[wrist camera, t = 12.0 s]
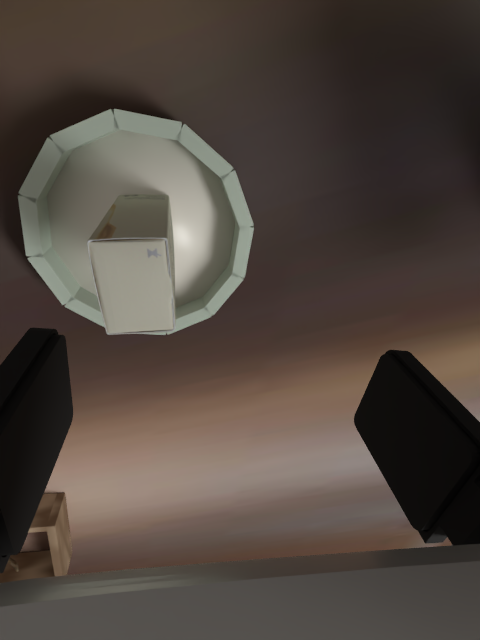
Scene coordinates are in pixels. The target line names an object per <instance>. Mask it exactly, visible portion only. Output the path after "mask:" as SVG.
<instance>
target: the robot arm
mask: <svg viewBox="0 0 480 640" xmlns="http://www.w3.org/2000/svg"><path fill="white" fill-rule="evenodd" d="M72 418H73V405H72V395H71V386H70V377H69V367H68V358H67V348H66V340H65V336H64V335H58V332H57V330H56V329H45V328H30V329H29V330H28V331H27V332H26V334H25V335H24V336H23V337H22V339H21V340H20V341H19V342H18V344H17V345H16V346H15V347H14V349H13V350H12V351H11V352H10V354H9V355H8V356H7V357H6V359H5V360H4V361H3V363H2V364H1V365H0V573H3V572H4V570H5V567H6V565H7V562H8V560H9V558H10V555H17V554H18V553H19V552H20V550H21V549H22V546H23V544H24V542H25V539H26V537H27V534H28V531H29V529H30V526H31V524H32V521H33V519H34V516H35V514H36V511H37V509H38V506H39V504H40V501H41V499H42V496H43V494H44V491H45V488H46V486H47V483H48V481H49V478H50V476H51V473H52V471H53V468H54V466H55V463H56V461H57V458H58V456H59V453H60V450H61V448H62V445H63V443H64V440H65V438H66V435H67V433H68V430H69V428H70V425H71V422H72ZM354 423H355V426H356V428H357V430H358V432H359V434H360V435H361V437H362V439H363V441H364V442H365V444H366V446H367V448H368V450H369V451H370V453H371V455H372V457H373V458H374V460H375V462H376V464H377V465H378V467H379V469H380V471H381V472H382V474H383V476H384V478H385V480H386V481H387V483H388V485H389V487H390V488H391V490H392V492H393V494H394V495H395V497H396V499H397V501H398V502H399V504H400V506H401V508H402V510H403V511H404V513H405V515H406V517H407V518H408V520H409V522H410V524H411V525H412V526H413V528H415V529H416V530H418V532H419V533H420V535H421V537H422V539H423V540H424V542H425V543H439V542H443V541H444V540H445V539H446V538H447V537H448V538H449V540H450V542H451V543H452V545H451V546H440V547H424V548H409V549H394V550H380V551H366V552H352V553H338V554H324V555H310V556H296V557H283V558H269V559H255V560H242V561H230V562H217V563H204V564H191V565H178V566H166V567H153V568H140V569H127V570H116V571H106V572H96V573H85V574H75V575H64V576H54V577H44V578H33V579H26V580H19V581H12V582H5V583H0V640H480V422H479V421H478V420H477V419H476V418H475V417H474V416H473V415H472V414H471V413H470V412H469V411H468V410H467V409H466V408H465V407H464V406H463V405H462V404H461V403H460V402H459V401H458V400H457V399H456V398H455V397H454V396H453V395H452V394H451V393H450V392H449V391H448V390H447V389H446V388H445V387H444V386H443V385H442V384H441V383H440V382H439V381H438V380H437V379H436V378H435V377H434V376H433V375H432V374H431V373H430V372H429V371H428V370H427V369H426V368H425V367H424V366H423V365H422V364H421V363H420V362H419V361H418V360H417V359H416V358H415V357H414V356H413V355H412V354H411V353H410V352H408V351H399V350H389V351H387V352H386V353H385V354H384V355H382V356H381V357H380V359H379V362H378V364H377V366H376V368H375V371H374V373H373V375H372V377H371V380H370V382H369V384H368V386H367V389H366V391H365V393H364V395H363V398H362V400H361V402H360V404H359V407H358V409H357V411H356V413H355V416H354Z"/></svg>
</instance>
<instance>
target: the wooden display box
mask: <svg viewBox="0 0 480 640" xmlns="http://www.w3.org/2000/svg"><path fill="white" fill-rule="evenodd" d="M46 531H47V535H48V540H49V546H50V550H48V551H36V552H25V553H18V554H17V555H10V557H11V558H12V559H14V560H15V561H16V562H17V563H18V567H19V571H18V572H17V571H15V569H14V567H13V566H12V565H10V564H9V563H8V562H7V565H6V567H5V570H4V572H3V573H0V583H5V582H12V581H19V580H26V579H33V578H44V577H54V576H64V575H67V571H68V567H69V563H70V559H71V555H72V546H71V538H70V530H69V521H68V513H67V505H66V497H65V493H50V494H43V496H42V499H41V501H40V504H39V506H38V509H37V511H36V514H35V516H34V519H33V521H32V524H31V526H30V529H29V531H28V533H32V532H46Z"/></svg>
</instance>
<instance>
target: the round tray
mask: <svg viewBox="0 0 480 640" xmlns="http://www.w3.org/2000/svg"><path fill="white" fill-rule="evenodd" d="M181 126H182V122H178V121H173V120H168V119H163V118H158V117H153V116H148V115H143V114H138V113H133V112H128V111H124V110H119V109H114V110H113V109H109V110H107V111H105V112H102V113H100V114H98V115H95V116H93V117H91V118H89V119H86V120H84V121H82V122H79V123H77V124H75V125H73V126H70V127H68V128H66V129H63V130H61V131H59V132H57V133H54V134H52V135H50V137H48V138H47V139H46V141H45V143H44V145H43V147H42V149H41V151H40V153H39V155H38V156H37V158H36V160H35V162H34V164H33V166H32V168H31V170H30V172H29V173H28V175H27V177H26V179H25V181H24V183H23V185H22V187H21V189H20V190H19V192H18V193H19V194H21V195H18V201H19V208H20V216H21V223H22V230H23V238H24V245H25V252H26V256H29V257H28V258H27V259H28V260H29V262H30V263H31V264H32V266H33V267H34V268H35V269H36V271H37V272H38V273H39V275H40V276H41V277H42V279H43V280H44V281H45V283H46V284H47V285H48V287H49V288H50V289H51V290H52V292H53V293H54V294H55V296H56V297H57V298H58V300H59V301H60V302H61V304H62V305H64V304H66V303H67V304H66V305H65V307H66V308H68V309H70V310H72V311H74V312H76V313H78V314H80V315H82V316H84V317H86V318H87V319H89V320H91V321H93V322H95V323H97V324H99V325H101V326H103V327H105V325H104V322H103V318H102V314H101V310H100V306H99V302H98V298H97V293H96V289H95V284H94V280H93V276H92V271H91V265H90V260H89V254H88V247H87V241H88V240H89V238H90V237H91V235H92V234H93V232H94V231H95V230H96V228H97V227H98V225H99V224H100V222H101V221H102V219H103V218H104V216H105V215H106V213H107V212H108V210H109V209H110V208H111V206H112V205H113V203H114V202H115V200H116V199H117V197H118V196H119V195H135V194H145V195H168V196H169V198H170V206H171V216H172V227H173V240H174V257H175V316H176V328H175V330H174V331H172V332H159V333H139V334H155V335H166V333H167V334H171V333H173V332H176V331H178V330H180V329H183V328H185V327H188V326H190V325H193V324H195V323H198V322H200V321H202V320H205V319H207V318H210V317H211V314H212V315H214V314H215V313H216V312H217V310H218V309H219V308H220V307H221V306H222V305H223V303H224V302H225V301H226V300H227V299H228V297H229V296H230V295H231V294H232V293H233V291H234V290H235V289H236V288H237V287H238V286H239V284H240V283H241V282H242V281H243V280H244V279H243V277H244V278H245V272H246V267H247V262H248V257H249V251H250V246H251V241H252V235H253V230H254V227H253V225H254V224H253V221H252V219H251V216H250V213H249V210H248V207H247V204H246V201H245V198H244V195H243V192H242V189H241V186H240V183H239V180H238V177H237V174H236V171H235V170H234V169H233V167H232V166H231V165H230V164H229V163H228V162H226V161H225V160H224V159H223V158H222V157H221V156H220V155H219V154H218V153H217V152H215V151H214V150H213V149H212V148H211V147H210V146H209V145H208V144H207V143H205V142H204V141H203V140H202V139H201V138H200V137H199V136H198V135H197V134H195V133H194V132H193V131H192V130H191V129H190V128H189V127H188V126H187V125H186V124H184V125H183V126H182V128H181Z"/></svg>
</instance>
